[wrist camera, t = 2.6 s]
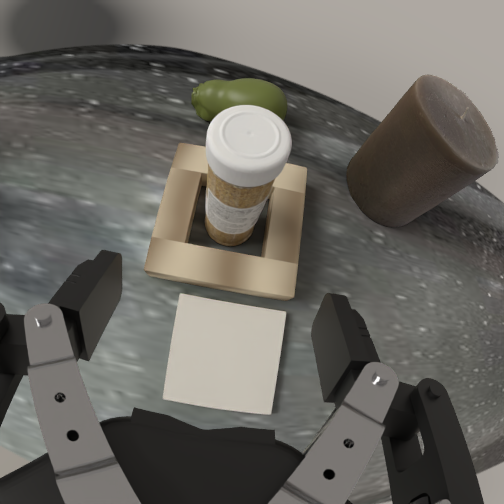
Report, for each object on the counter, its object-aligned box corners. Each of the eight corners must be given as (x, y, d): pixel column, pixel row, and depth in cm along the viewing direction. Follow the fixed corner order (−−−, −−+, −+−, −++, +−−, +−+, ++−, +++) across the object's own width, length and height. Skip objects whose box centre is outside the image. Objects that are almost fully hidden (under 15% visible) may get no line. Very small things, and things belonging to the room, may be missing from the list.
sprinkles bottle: (225, 191, 29) (243, 90, 16) (264, 221, 29) (309, 133, 16) (193, 226, 28) (187, 135, 15) (233, 258, 27) (259, 187, 14)
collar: (149, 276, 26) (143, 269, 23) (180, 157, 29) (179, 142, 27) (286, 301, 27) (294, 297, 25) (299, 180, 30) (307, 168, 28)
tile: (163, 397, 23) (162, 398, 23) (180, 294, 26) (180, 293, 25) (269, 413, 24) (270, 414, 23) (284, 312, 27) (286, 311, 26)
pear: (281, 113, 26) (179, 96, 27) (278, 147, 31) (188, 129, 32) (294, 76, 27) (201, 63, 28) (290, 111, 32) (206, 96, 33)
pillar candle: (334, 198, 30) (418, 107, 16) (358, 135, 33) (425, 48, 19) (408, 244, 31) (512, 188, 16) (423, 178, 34) (503, 113, 19)
